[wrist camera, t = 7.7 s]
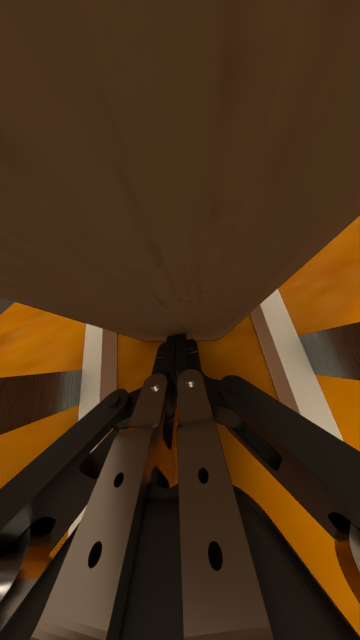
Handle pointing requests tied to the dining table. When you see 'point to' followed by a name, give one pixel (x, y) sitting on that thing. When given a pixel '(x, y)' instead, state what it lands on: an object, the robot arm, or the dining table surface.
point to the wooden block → (173, 155)
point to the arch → (64, 387)
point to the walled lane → (278, 348)
